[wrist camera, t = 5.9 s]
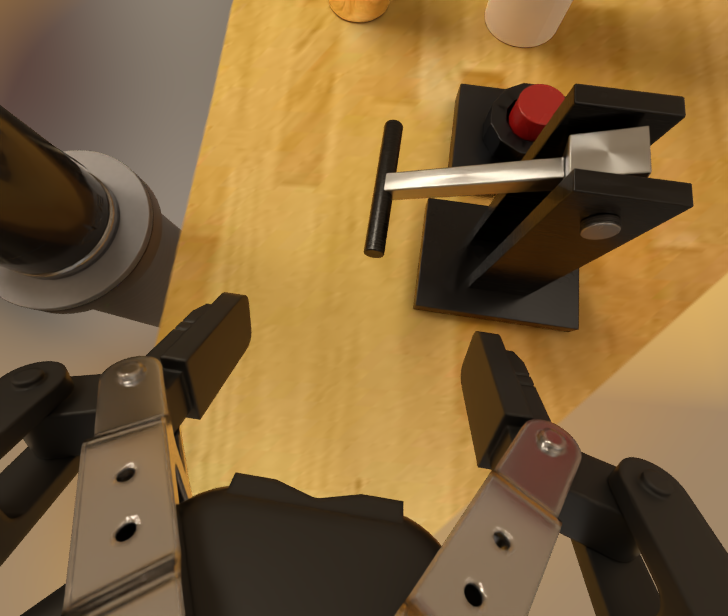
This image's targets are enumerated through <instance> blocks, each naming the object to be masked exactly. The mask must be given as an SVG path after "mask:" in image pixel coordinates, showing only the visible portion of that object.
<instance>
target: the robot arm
mask: <svg viewBox="0 0 728 616" xmlns="http://www.w3.org/2000/svg"><path fill="white" fill-rule="evenodd" d="M67 156H68V157H67ZM70 158H71V159H72V160H74V161H76V162H77V163H79V164H80V165H82V164H81V163H80V162H78V161H77V160H75V159H74V158H72V157H71V156H69V155H68V154H66V153H64V152H63V151H61V150H60V149H58V148H56V147H55V146H53V145H52V144H51V143H49V142H48V141H47V140H45V139H44V138H43V137H41V136H40V135H39V134H37V133H36V132H35V131H34V130H32V129H31V128H29V127H28V126H27V125H26V124H24V123H23V122H22V121H20V120H19V119H17V117H15V116H13V114H11V113H10V112H9V111H7V110H6V109H5V108H3V107H2V106H1V105H0V266H1V267H4V268H8V269H10V270H11V271H14V272H16V273H19V274H22V275H25V276H28V277H31V278H35V279H40V280H57V279H63V278H67V277H70V276H73V275H75V274H78V273H80V272H82V271H84V270H85V269H87V268H89V267H90V266H92V265H93V264H94V263H95V262H97V261H98V260H99V259H100V258H101V257H102V256H103V255H104V254H105V253H106V251H107V250H108V249H109V247H110V246H111V244H112V242H113V241H114V239H115V236H116V234H117V231H118V228H119V222H120V210H119V205H118V201H117V199H116V197H115V195H114V193H113V192H112V190H111V189H110V188H109V187H108V186H107V185H106V184H105V183H103V182H102V181H101V180H99V179H98V178H97V177H96V176H94V175H93V174H91V173H89V172H87V171H86V170H84V169H83V168H82V167H80V166H79V165H78V164H76V163H75V162H74V161H72V160H71V159H70ZM82 166H83V165H82ZM83 167H85V166H83ZM85 168H86V167H85ZM250 340H251V321H250V310H249V301H248V297H247V296H246V295H240V294H233V293H227V292H224V293H222V294H221V295H220V296H219V297H218V298H217V299H216V300H215V301H214V302H213V303H212V304H205V305H203V306H201V307H199V308H197V309H195V310H193V311H192V312H191V313H190V314H189V315H188V316H187V317H186V318H185V319H184V320H183V322H180V323H179V324H178V325H177V326H176V327H175V329H173V330H172V331H171V332H170V333H169V334H168V335H167V336H166V337H165V338H164V339H163V340H162V341H161V342H160V343H158V344H157V345H156V346H155V347H154V348H153V349H152V350H151V351H150V352H149V353H148V354H147V355H146V356H136V357H131V358H127V359H124V360H121V361H119V362H117V363H115V364H113V365H111V366H110V367H109V368H107V369H106V370H105V371H104V372H103V373H102V374H97V375H84V376H72V377H71V376H70V375H69V373H68V371H67V369H66V367H65V366H64V365H63V364H61V363H59V362H52V361H46V362H37V363H33V364H29V365H25V366H23V367H20V368H17V369H15V370H13V371H11V372H9V373H7V374H6V375H4V376H3V377H1V378H0V459H1V458H2V457H3V456H5V454H7V453H8V452H9V451H10V450H11V449H12V448H13V447H14V446H15V445H16V444H17V443H18V442H20V441H21V440H22V439H24V441H25V442H26V444H27V445H28V447H27V448H26V449H25V450H24V451H23V452H22V453H21V454H20V455H19V456H18V457H17V458H16V459H15V460H14V461H13V462H12V463H11V464H10V465H8V466H7V467H6V468H5V469H4V470H3V472H1V473H0V566H1V565H2V564H3V563H4V561H5V560H6V559H7V558H8V557H9V555H10V554H11V553H12V552H13V550H14V549H15V548H16V547H17V546H18V545H19V543H20V542H21V541H22V540H23V538H24V537H25V536H26V535H27V534H28V532H29V531H30V530H31V529H32V528H33V526H34V525H35V524H36V523H37V522H38V520H39V519H40V518H41V517H42V516H43V514H44V513H45V512H46V511H47V509H48V508H49V507H50V506H51V505H52V503H53V502H54V501H55V500H56V498H57V497H58V496H59V495H60V493H61V492H62V491H63V490H64V489H65V488H66V487H67V485H68V484H69V483H70V482H71V480H72V479H73V478H74V477H75V476H76V474H77V473H78V472H79V473H78V482H77V491H76V501H75V508H74V517H73V526H72V535H71V544H70V552H69V561H68V570H67V579H66V584H64V585H63V586H62V587H60V588H59V589H57V590H56V591H55V592H53V593H52V594H50V595H49V596H47V597H46V598H44V599H43V600H42V601H40V602H39V603H37V604H36V605H35V606H33V607H32V608H30V609H29V610H27V611H26V612H24V613H23V614H22V615H20V616H528V613H529V611H530V608H531V605H532V603H533V600H534V597H535V595H536V592H537V590H538V587H539V584H540V582H541V579H542V577H543V574H544V571H545V569H546V566H547V563H548V561H549V558H550V556H551V553H552V550H553V547H554V545H555V543H556V540H557V537H558V535H559V533H561V534H563V535H565V536H567V537H569V538H571V541H572V544H573V547H574V550H575V553H576V556H577V559H578V562H579V566H580V568H581V571H582V574H583V578H584V581H585V584H586V587H587V590H588V593H589V596H590V599H591V602H592V605H593V608H594V611H595V614H596V616H728V553H727V552H726V550H725V549H724V547H723V546H722V544H721V543H720V541H719V540H718V538H717V537H716V535H715V534H714V532H713V531H712V529H711V528H710V526H709V525H708V523H707V522H706V520H705V519H704V517H703V516H702V514H701V513H700V511H699V510H698V509H697V507H696V505H695V504H694V502H693V501H692V499H691V498H690V496H689V495H688V494H687V492H686V491H685V489H684V488H683V487H682V486H681V485H680V484H679V482H678V481H677V480H676V479H674V478H673V477H672V476H671V475H670V474H668V473H667V472H666V471H664V470H663V469H661V468H660V467H658V466H657V465H655V464H653V463H651V462H648V461H646V460H643V459H640V458H634V457H629V458H625V459H623V460H622V461H621V462H620V463H619V465H618V466H617V467H616V466H613V465H611V464H608V463H606V462H604V461H601V460H599V459H596V458H594V457H592V456H589V455H587V454H585V453H583V452H581V450H580V448H579V446H578V444H577V443H576V441H575V440H574V439H573V437H572V436H571V435H570V434H569V433H568V432H566V431H565V430H564V429H562V428H561V427H559V426H558V425H556V424H554V423H551V420H550V418H549V416H548V414H547V412H546V410H545V407H544V405H543V403H542V401H541V399H540V397H539V394H538V392H537V390H536V388H535V387H534V383H533V381H532V379H531V377H529V373H528V370H527V368H526V366H525V364H524V362H523V361H522V360H521V359H520V358H519V357H518V356H517V355H516V354H515V353H514V352H513V351H508V350H506V349H505V346H504V344H503V342H502V339H501V337H500V335H498V334H492V333H486V332H479V331H476V332H475V333H474V335H473V337H472V340H471V342H470V345H469V348H468V351H467V354H466V356H465V359H464V362H463V365H462V369H461V385H462V390H463V395H464V400H465V405H466V410H467V415H468V420H469V425H470V430H471V435H472V440H473V445H474V450H475V455H476V460H477V465H478V467H480V468H486V469H491V470H492V471H491V473H490V474H489V475H488V477H487V478H486V480H485V482H484V483H483V485H482V486H481V488H480V489H479V491H478V492H477V494H476V495H475V497H474V498H473V500H472V501H471V503H470V504H469V506H468V507H467V509H466V510H465V512H464V513H463V515H462V516H461V518H460V519H459V521H458V522H457V524H456V525H455V527H454V528H453V530H452V531H451V533H450V534H449V536H448V537H447V539H446V540H445V542H444V544H443V545H442V546H441V545H440V543H439V542H438V541H437V540H436V539H435V538H434V537H433V536H432V535H431V534H430V533H429V532H428V531H426V530H425V529H424V528H423V527H422V526H420V525H419V524H417V523H416V522H414V521H413V520H411V519H409V518H407V517H405V516H403V501H398V500H392V499H387V498H381V497H375V496H369V495H363V494H358V495H348V496H338V497H328V498H314V497H312V496H309V495H307V494H305V493H303V492H301V491H299V490H297V489H295V488H293V487H291V486H289V485H287V484H285V483H282V482H280V481H278V480H276V479H270V478H265V477H259V476H253V475H247V474H241V473H235V475H234V477H233V479H232V481H231V483H230V485H229V486H225V487H220V488H216V489H212V490H209V491H206V492H203V493H200V494H198V495H196V496H192V492H191V488H190V483H189V477H188V471H187V465H186V458H185V452H184V446H183V439H182V433H181V429H180V425H181V423H182V422H183V420H184V419H185V418H186V417H187V418H193V419H199V420H200V419H201V418H202V416H203V415H204V413H205V412H206V410H207V409H208V407H209V405H210V404H211V402H212V401H213V399H214V398H215V396H216V395H217V393H218V392H219V390H220V389H221V387H222V386H223V384H224V383H225V381H226V380H227V378H228V377H229V375H230V374H231V372H232V371H233V369H234V368H235V366H236V364H237V363H238V361H239V360H240V358H241V357H242V355H243V354H244V352H245V351H246V349H247V348H248V346H249V343H250ZM640 554H642V556H643V559H644V561H645V563H646V565H647V567H648V569H649V571H650V573H651V575H652V578H653V580H654V582H655V584H656V586H657V589H658V591H657V589H656V587H655V585H654V583H653V581H652V579H651V576H650V574H649V572H648V570H647V568H646V566H645V564H644V562H643V559H642V557H641V556H640ZM658 592H659V593H658Z"/></svg>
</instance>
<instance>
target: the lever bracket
mask: <svg viewBox="0 0 728 616" xmlns="http://www.w3.org/2000/svg"><path fill="white" fill-rule="evenodd" d="M685 116H686V113H685V100H684V97H681V96H673V95H665V94H657V93H649V92H641V91H633V90H624V89H616V88H608V87H600V86H592V85H584V84H575V85H574V86H573V87H572V89H571V90H570V92H569V93H568V95H567V96H566V97H565V99H564V100H563V102H562V103H561V105H560V106H559V107H558V109H557V110H556V112H555V113H554V114H553V116H552V117H551V119H550V120H549V122H548V123H547V124H546V126H545V127H544V129H543V130H542V131H541V133H540V134H539V136H538V137H537V139H536V140H535V141H534V143H533V144H532V146H531V147H530V149H529V150H528V151H527V153H526V154H525V156H524V157H523V158H522V160H521V161H525V160H536V159H546V158H557V157H563V153H564V150H565V147H566V144H567V141H568V137H569V135H571V134H579V133H588V132H597V131H606V130H614V129H623V128H632V127H641V126H649V132H650V146H651V145H652V144H653V143H654V142H656V141H657V140H658V139H659V138H660V137H662V136H663V135H664V134H665V133H666V132H668V131H669V130H670V129H671V128H672V127H674V126H675V125H676V124H677V123H679V122H680V121H681V120H682V119H683V118H684V117H685ZM692 207H693V194H692V184H691V183H684V182H676V181H668V180H661V179H653V178H646V177H638V176H630V175H623V174H615V173H608V172H600V171H592V170H585V169H577V168H574V169H573V170H572V171H571V172H570V173H569V174H568V175H567V176H566V177H565V178H564V179H563V180H562V181H561V182H560V183H559V184H558V185H557V186H556V187H555V188H554V189H553V190H550V191H534V192H517V193H501V194H497V195H496V197H495V198H494V200H493V201H492V202H491V204H490V205H489V206H484V205H477V204H470V203H462V202H455V201H448V200H440V199H433V198H428V201H427V204H426V208H425V216H424V224H423V232H422V240H421V249H420V257H419V265H418V273H417V281H416V289H415V297H414V305H413V309H418V310H425V311H432V312H439V313H445V314H452V315H459V316H465V317H472V318H479V319H486V320H492V321H499V322H506V323H512V324H519V325H526V326H533V327H539V328H546V329H553V330H559V331H566V332H570V331H574V330H578V329H579V268H580V267H582V266H584V265H585V264H587V263H589V262H591V261H593V260H595V259H597V258H598V257H600V256H602V255H604V254H606V253H608V252H610V251H612V250H613V249H615V248H617V247H619V246H621V245H623V244H625V243H626V242H628V241H630V240H632V239H634V238H636V237H638V236H640V235H641V234H643V233H645V232H647V231H649V230H651V229H653V228H654V227H656V226H658V225H660V224H662V223H664V222H666V221H667V220H669V219H671V218H673V217H675V216H677V215H679V214H681V213H682V212H684V211H686V210H688V209H690V208H692Z"/></svg>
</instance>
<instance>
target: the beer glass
mask: <svg viewBox="0 0 728 616" xmlns="http://www.w3.org/2000/svg"><path fill="white" fill-rule="evenodd" d="M389 2H390V0H329V3H330V6H331V8H332V10H333V11H334V12H335V13H336V14H337V15H338V16H339V17H341V18H343V19H345V20H348V21H352V22H367V21H371V20H374V19H376V18H378V17H379V16H381V15H382V14H383V13H384V12H385V11H386V9H387V8H388V5H389Z"/></svg>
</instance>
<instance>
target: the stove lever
mask: <svg viewBox="0 0 728 616" xmlns="http://www.w3.org/2000/svg"><path fill="white" fill-rule="evenodd" d="M402 131H403V126H402V124H401V123H400V122H399V121H397V120H389V121H387V122H386V123H385V126H384V132H383V138H382V144H381V150H380V156H379V162H378V168H377V174H376V181H375V187H374V193H373V199H372V205H371V211H370V217H369V223H368V229H367V235H366V241H365V247H364V254H365V255H367V256H369V257H373V258H381V257H383V256H384V252H385V245H386V238H387V232H388V225H389V218H390V211H391V205H392V200H403V199H419V198H435V197H452V196H468V195H484V194H501V193H517V192H534V191H550V190H553V189H554V188H555V187H556V186H557V185H558V184H559V183H560V182H561V181H562V180H563V179H564V178H565V177H566V176H567V175H568V174H569V173H570V172H571V171H572V170H573V169H574V168H577V169H585V170H592V171H600V172H608V173H615V174H623V175H630V176H638V177H646V178H648V176H649V175H650V174H651V152H650V132H649V126H641V127H632V128H623V129H614V130H606V131H597V132H588V133H579V134H571V135H569V137H568V141H567V144H566V147H565V150H564V153H563V157H557V158H546V159H536V160H525V161H514V162H503V163H493V164H482V165H471V166H460V167H450V168H439V169H428V170H417V171H406V172H396V171H397V165H398V158H399V151H400V144H401V138H402Z"/></svg>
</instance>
